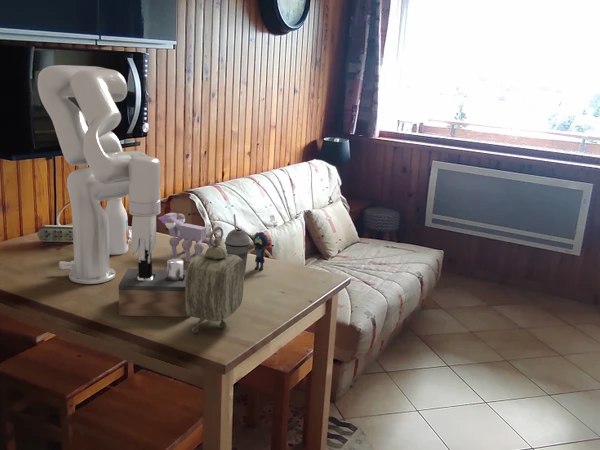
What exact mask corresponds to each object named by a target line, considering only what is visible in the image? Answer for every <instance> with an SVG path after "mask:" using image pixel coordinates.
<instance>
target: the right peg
mask: <svg viewBox="0 0 600 450" xmlns="http://www.w3.org/2000/svg"><path fill="white" fill-rule="evenodd" d="M166 266H167V267H166V269H167V281H183V270H184V260H183V259H180V258H176V259H173V258H171V259H167V261H166Z"/></svg>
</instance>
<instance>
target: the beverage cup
mask: <svg viewBox="0 0 600 450" xmlns="http://www.w3.org/2000/svg"><path fill="white" fill-rule="evenodd" d="M236 220H237V219H236V214H235V213H234V214H233V224H234V229H232V230H231V231H229V232H228V233H227V234H226V237H225V241H224V246H225V251H226V253H227V254H232V255H237V256H239V257H240V258H241V259H242V260H243V261H244V277H245V276H246V268H247V261H248V260H247V258H248V255H249V254H248V251H249V250H250V249H249V248H250V244H251V241H250V237H249V234H248V233H247V232H246V231H244V230H243V229H239V228H237V221H236Z"/></svg>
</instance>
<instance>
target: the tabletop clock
mask: <svg viewBox="0 0 600 450" xmlns="http://www.w3.org/2000/svg"><path fill="white" fill-rule="evenodd" d="M217 231H220V233H221V234H220V237H219V239H217V238H215V240H214V244H212V242H211V240H212V237H213V236H214V235H215V233H216V232H217ZM209 237H210V240H209V242H210V245H211V247H209V246H208V248H207V249H206V250H205V251H204V252H202V254H200V255H196V257H195V258H193V259H192V260H191V261H190V262H189V263H188V265H187V269H186V270H187V275H186V289H185V300H186V313H187V316H190V317H192V318H196V319H199V320H198V322H197V325H196V326H193V327H192V329H191V331H192V333H193V334H198V333H199V330H200V328H199V327H200V326H201V325H202V323H203V322H204V321H205V320H207V321H213V322H219V321H220V323H219V327H220V328H221V329H225V328H226V327H227V323H226V322H225V321H224V320H226V319H228V318H229V317H231V316H232V315H233V314H234V313H235V312H236V311H237V310H238V309H239V308H240V306H241V305H242V302H243V297H244V283H245V276H244V261H243V260H242V259H241V258H240V257H239V256H237V255H232V254H227V252H226V248H224V247H222V245H219V244H220V243H222V242H221V241H222V239H223V237H224V230H223V228H222V227H221V226H217V227H215V228H214V229H213V230H212V231H211V233H210V235H209ZM213 238H214V237H213Z"/></svg>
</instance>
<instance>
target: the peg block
mask: <svg viewBox="0 0 600 450" xmlns="http://www.w3.org/2000/svg"><path fill="white" fill-rule="evenodd" d="M138 275H139V271H138V268H129V267H128V268H127V269H126V271H125V272H124V274H123V275H122V278H121V280H120V282H119V283H118V314H119V315H118V316H122V317H123V316H125V317H127V316H130V317H133V316H135V317H136V316H137V317H172V318H174V317H175V318H176V317H177V318H178V317H180V318H182V317H183V318H186V317H187V318H189V317H190V316H187V313H186V300H185V289H186V275H187V269H183V281H167V268H166V269H156V268H152V275H153V281H148V280H137V276H138Z"/></svg>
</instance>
